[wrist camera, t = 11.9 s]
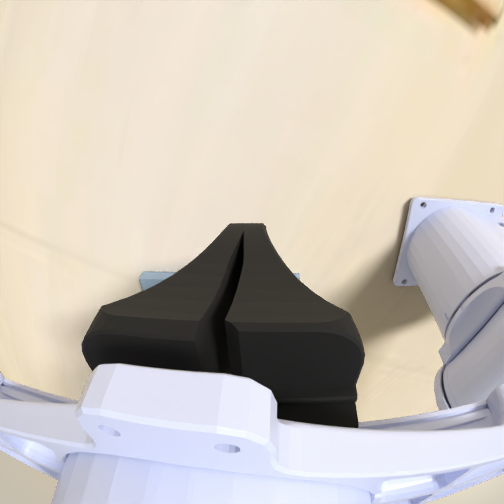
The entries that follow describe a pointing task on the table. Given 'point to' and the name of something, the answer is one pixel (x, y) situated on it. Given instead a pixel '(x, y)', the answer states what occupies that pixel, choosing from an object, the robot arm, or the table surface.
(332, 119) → the table surface
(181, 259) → the table surface
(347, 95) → the table surface
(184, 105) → the table surface
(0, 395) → the robot arm
